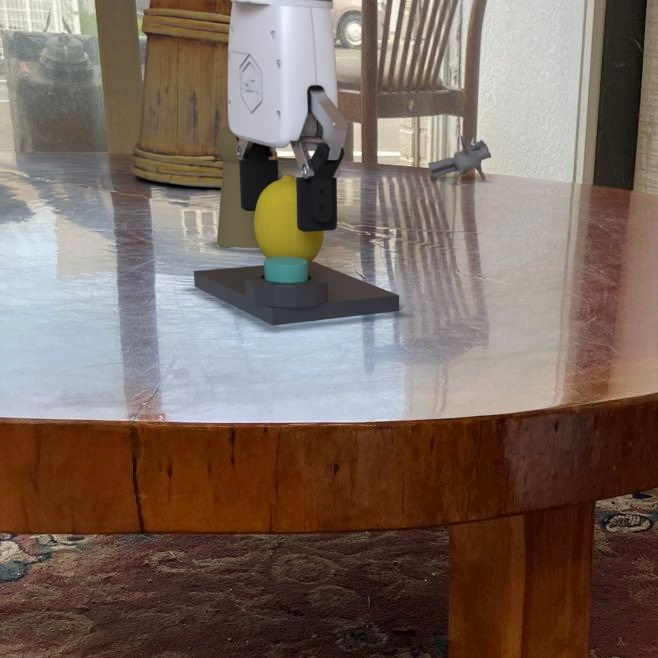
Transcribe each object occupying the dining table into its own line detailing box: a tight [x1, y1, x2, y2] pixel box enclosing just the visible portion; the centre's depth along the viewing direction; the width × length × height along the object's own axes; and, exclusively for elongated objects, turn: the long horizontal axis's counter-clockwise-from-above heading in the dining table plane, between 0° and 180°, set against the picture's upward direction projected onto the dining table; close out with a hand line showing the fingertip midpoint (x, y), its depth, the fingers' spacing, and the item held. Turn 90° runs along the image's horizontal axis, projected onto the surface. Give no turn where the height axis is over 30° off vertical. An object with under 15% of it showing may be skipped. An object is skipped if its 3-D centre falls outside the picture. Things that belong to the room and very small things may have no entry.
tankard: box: [130, 0, 282, 189], centre depth 142 cm, size 18×24×25 cm
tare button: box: [263, 257, 308, 283], centre depth 84 cm, size 3×3×2 cm
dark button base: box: [193, 260, 400, 327], centre depth 89 cm, size 12×14×3 cm
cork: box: [216, 126, 260, 249], centre depth 108 cm, size 6×6×11 cm
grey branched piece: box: [427, 134, 492, 183], centre depth 161 cm, size 10×6×9 cm
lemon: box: [254, 174, 325, 264], centre depth 90 cm, size 6×6×8 cm
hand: (287, 219), depth 90 cm, fingers open, 9 cm apart
